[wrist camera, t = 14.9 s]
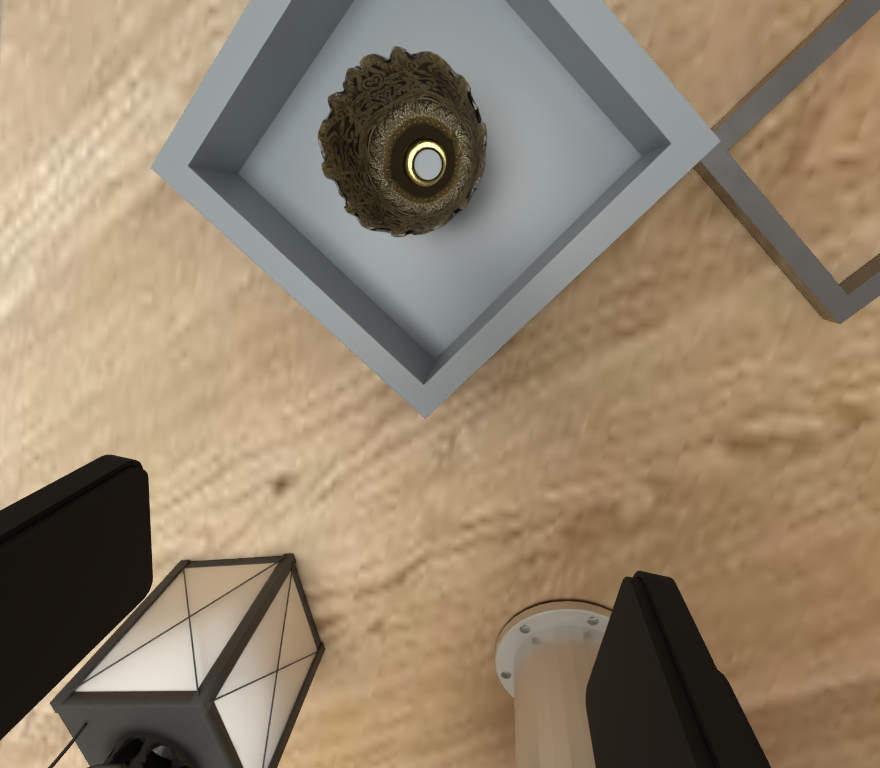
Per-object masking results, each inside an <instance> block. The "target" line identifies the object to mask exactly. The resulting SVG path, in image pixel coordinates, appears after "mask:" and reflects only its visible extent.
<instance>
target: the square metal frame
mask: <svg viewBox="0 0 880 768" xmlns="http://www.w3.org/2000/svg"><path fill="white" fill-rule="evenodd" d="M879 9H880V0H845V1H844V2H843V3H842V4H841V5H840V6H839V7H838V8H837V9H836V10H835V11H834V12H833V13H832V14H831V15H830V16H829V17H828V18H827V19H826V20H824V21H823V22H822V23H821V24H820V25H819V26H818V27H817V28H816V29H815V30H814V31H813V32H812V33H811V34H810V35H809V36H808V37H807V38H806V39H805V40H804V41H803V42H801V43H800V44H799V45H798V46H797V47H796V48H795V49H794V50H793V51H792V52H791V53H790V54H789V55H788V56H787V57H786V58H785V59H784V60H783V61H782V62H781V63H780V64H778V65H777V66H776V67H775V68H774V69H773V70H772V71H771V72H770V73H769V74H768V75H767V76H766V77H765V78H764V79H763V80H762V81H761V82H760V83H759V84H758V85H757V86H755V87H754V88H753V89H752V90H751V91H750V92H749V93H748V94H747V95H746V96H745V97H744V98H743V99H742V100H741V101H740V102H739V103H738V104H737V105H736V106H735V107H733V108H732V109H731V110H730V111H729V112H728V113H727V114H726V115H725V116H724V117H723V118H722V119H721V120H720V121H719V122H718V123H717V124H716V125H715V126H714V127H713V128H712V129H711V130H712V131H713V132H714V134H715V135H716V136H717V137H718V138H719V140H720V142H719V143H718V144H717V145H716V146H715V147H714V148H713V149H712V150H711V151H710V152H709V153H708V154H706V155H705V156H704V157H703V158H702V159H701V160H700V161H699V162H698V163H697V164H696V165H695V166H694V169H695V170H696V171H697V172H698V173H699V174H700V176H701V177H702V178H703V179H704V180H705V181H706V183H707V184H708V185H709V186H710V187H711V188H712V190H713V191H714V192H715V193H716V194H717V195H718V196H719V198H720V199H721V200H722V201H723V202H724V203H725V205H726V206H727V207H728V208H729V209H730V210H731V212H732V213H733V214H734V215H735V216H736V217H737V219H738V220H739V221H740V222H741V223H742V224H743V226H744V227H745V228H746V229H747V230H748V231H749V233H750V234H751V235H752V236H753V237H754V238H755V240H756V241H757V242H758V243H759V244H760V245H761V247H762V248H763V249H764V250H765V251H766V252H767V253H768V255H769V256H770V257H771V258H772V259H773V260H774V262H775V263H776V264H777V265H778V266H779V267H780V269H781V270H782V271H783V272H784V273H785V274H786V276H787V277H788V278H789V279H790V280H791V281H792V283H793V284H794V285H795V286H796V287H797V288H798V290H799V291H800V292H801V293H802V294H803V295H804V297H805V298H806V299H807V300H808V301H809V302H810V304H811V305H812V306H813V307H814V308H815V309H816V311H817V312H818V313H819V314H820V315H821V316H822V317H823V319H826V320H829V321H832V322H835V323H838V324H841V323H842V322H844V321H845V320H847V319H848V318H849V317H851V316H852V315H853V314H855V313H856V312H858V311H859V310H860V309H862V308H863V307H864V306H866V305H867V304H869V303H870V302H871V301H873V300H874V299H875V298H877V297H878V296H880V254H879V255H878V256H876V257H875V258H874V259H872V260H871V261H870V262H868V263H867V264H866V265H864V266H863V267H862V268H860V269H859V270H858V271H857V272H855V273H854V274H853V275H851V276H850V277H849V278H847V279H846V280H845V281H843V282H842V283H841V284H838V283H837V282H836V281H835V279H834V278H833V277H832V276H831V275H830V273H829V272H828V271H827V270H826V269H825V267H824V266H823V265H822V264H821V263H820V262H819V260H818V259H817V258H816V257H815V256H814V254H813V253H812V252H811V251H810V250H809V248H808V247H807V246H806V245H805V244H804V242H803V241H802V240H801V239H800V238H799V237H798V235H797V234H796V233H795V232H794V231H793V229H792V228H791V227H790V226H789V225H788V223H787V222H786V221H785V220H784V219H783V217H782V216H781V215H780V214H779V213H778V211H777V210H776V209H775V208H774V207H773V206H772V204H771V203H770V202H769V201H768V200H767V198H766V197H765V196H764V195H763V194H762V192H761V191H760V190H759V189H758V188H757V186H756V185H755V184H754V183H753V182H752V181H751V179H750V178H749V177H748V176H747V175H746V173H745V172H744V171H743V170H742V169H741V167H740V166H739V165H738V164H737V163H736V161H735V160H734V159H733V158H732V157H731V156H730V154H729V153H728V152H727V150H728V149H729V148H730V147H731V146H733V145H734V144H735V143H736V142H737V141H738V140H739V139H740V138H741V137H742V136H743V135H744V134H745V133H747V132H748V131H749V130H750V129H751V128H752V127H753V126H754V125H755V124H756V123H757V122H758V121H759V120H761V119H762V118H763V117H764V116H765V115H766V114H767V113H768V112H769V111H770V110H771V109H772V108H774V107H775V106H776V105H777V104H778V103H779V102H780V101H781V100H782V99H783V98H784V97H785V96H786V95H788V94H789V93H790V92H791V91H792V90H793V89H794V88H795V87H796V86H797V85H798V84H799V83H800V82H802V81H803V80H804V79H805V78H806V77H807V76H808V75H809V74H810V73H811V72H812V71H813V70H815V69H816V68H817V67H818V66H819V65H820V64H821V63H822V62H823V61H824V60H825V59H826V58H827V57H829V56H830V55H831V54H832V53H833V52H834V51H835V50H836V49H837V48H838V47H839V46H840V45H841V44H843V43H844V42H845V41H846V40H847V39H848V38H849V37H850V36H851V35H852V34H853V33H854V32H856V31H857V30H858V29H859V28H860V27H861V26H862V25H863V24H864V23H865V22H866V21H867V20H868V19H870V18H871V17H872V16H873V15H874V14H875V13H876V12H877V11H878V10H879Z"/></svg>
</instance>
